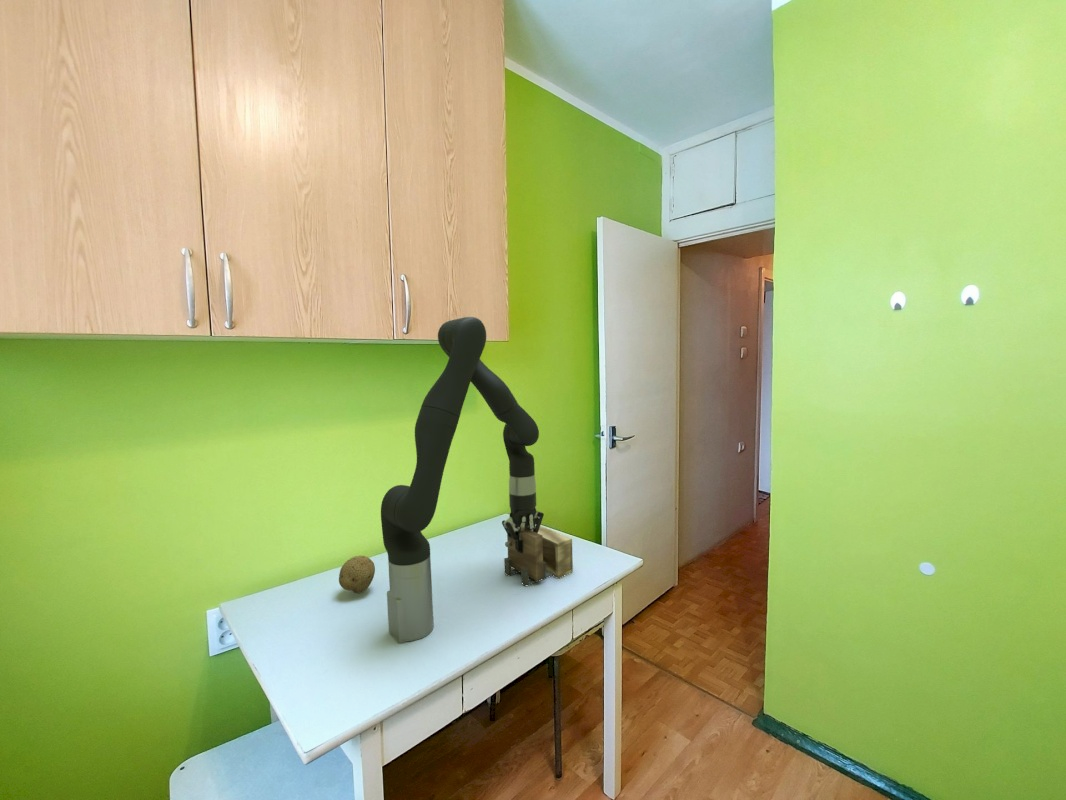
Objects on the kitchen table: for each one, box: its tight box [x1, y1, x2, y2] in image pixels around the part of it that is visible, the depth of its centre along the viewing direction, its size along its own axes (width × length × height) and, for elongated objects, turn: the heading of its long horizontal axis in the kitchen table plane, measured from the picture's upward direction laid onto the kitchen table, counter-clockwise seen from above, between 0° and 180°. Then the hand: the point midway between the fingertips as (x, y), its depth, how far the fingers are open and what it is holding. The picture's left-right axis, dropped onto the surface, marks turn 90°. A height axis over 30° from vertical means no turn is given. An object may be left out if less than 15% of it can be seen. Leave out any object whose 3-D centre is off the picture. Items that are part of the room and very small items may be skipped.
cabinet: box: [503, 525, 574, 586], centre depth 133 cm, size 15×15×10 cm
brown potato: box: [338, 555, 376, 594], centre depth 123 cm, size 9×9×10 cm
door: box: [504, 523, 543, 581], centre depth 130 cm, size 4×13×12 cm, turn 39°
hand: (524, 550), depth 130 cm, fingers closed on door, 2 cm apart
